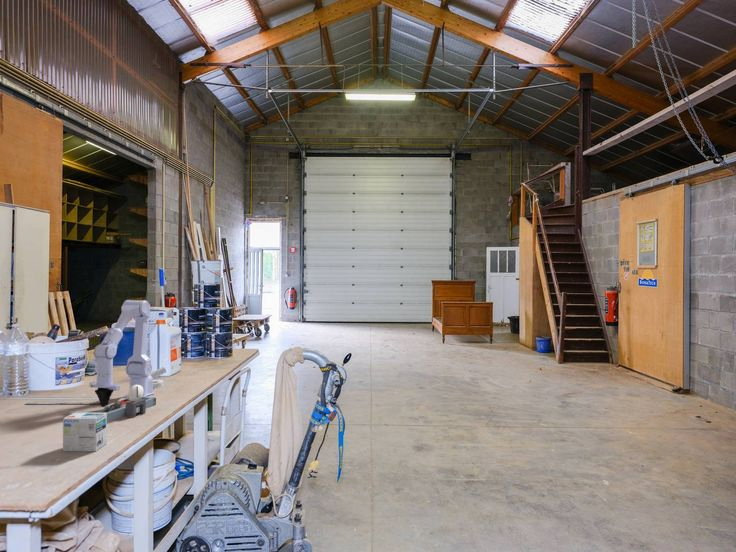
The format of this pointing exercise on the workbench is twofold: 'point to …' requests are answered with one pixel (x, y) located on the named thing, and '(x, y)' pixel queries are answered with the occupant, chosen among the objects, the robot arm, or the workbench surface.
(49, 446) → the workbench surface
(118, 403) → the walkie-talkie
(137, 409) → the gauge plunger
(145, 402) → the centring jig
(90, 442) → the light bulb box
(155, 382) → the wall hook
